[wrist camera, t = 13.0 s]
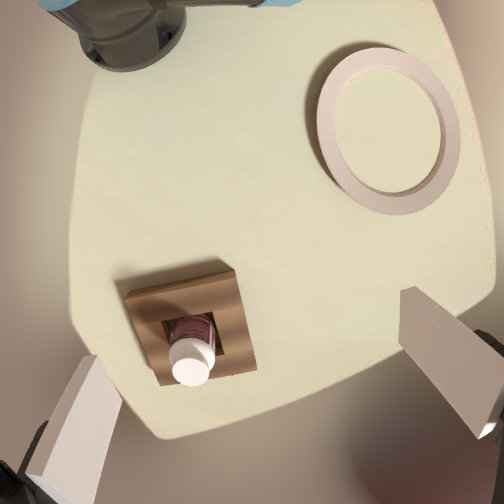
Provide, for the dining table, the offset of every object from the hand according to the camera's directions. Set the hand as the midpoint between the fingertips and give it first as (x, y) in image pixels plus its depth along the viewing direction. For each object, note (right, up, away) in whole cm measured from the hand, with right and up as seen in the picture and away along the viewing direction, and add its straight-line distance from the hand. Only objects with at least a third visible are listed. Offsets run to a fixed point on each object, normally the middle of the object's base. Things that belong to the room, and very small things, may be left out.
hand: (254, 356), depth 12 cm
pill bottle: (-9, -7, +35) cm, 37 cm away
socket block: (-9, -7, +35) cm, 37 cm away
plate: (+21, +22, +29) cm, 42 cm away
